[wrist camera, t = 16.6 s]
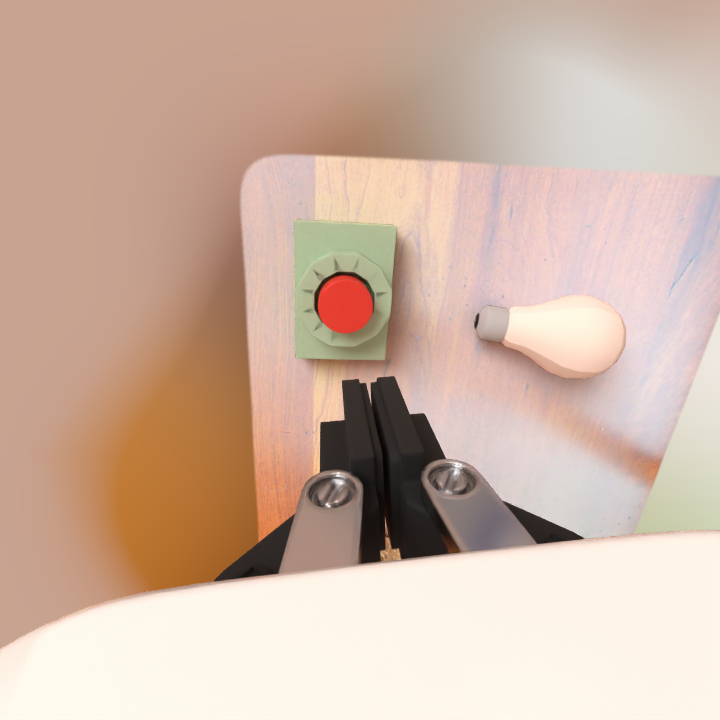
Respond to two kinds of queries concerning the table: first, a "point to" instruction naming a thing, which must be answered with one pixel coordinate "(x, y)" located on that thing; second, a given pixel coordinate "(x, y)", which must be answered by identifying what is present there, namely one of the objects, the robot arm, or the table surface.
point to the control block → (335, 258)
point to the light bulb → (559, 333)
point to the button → (345, 304)
